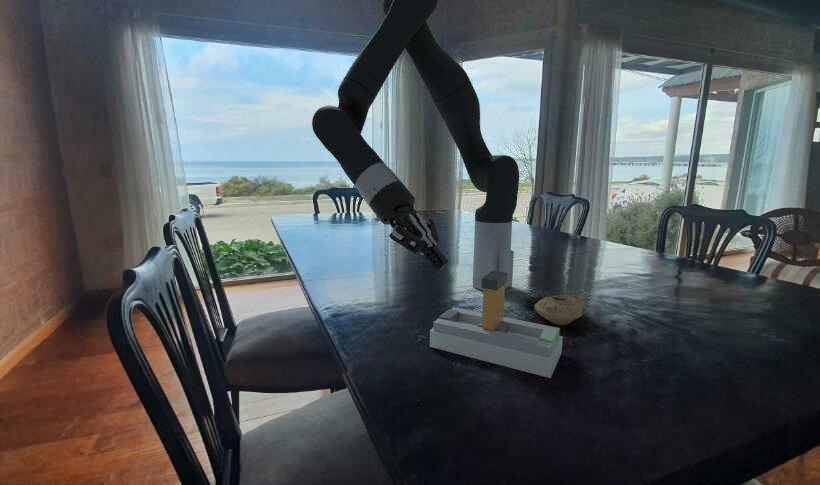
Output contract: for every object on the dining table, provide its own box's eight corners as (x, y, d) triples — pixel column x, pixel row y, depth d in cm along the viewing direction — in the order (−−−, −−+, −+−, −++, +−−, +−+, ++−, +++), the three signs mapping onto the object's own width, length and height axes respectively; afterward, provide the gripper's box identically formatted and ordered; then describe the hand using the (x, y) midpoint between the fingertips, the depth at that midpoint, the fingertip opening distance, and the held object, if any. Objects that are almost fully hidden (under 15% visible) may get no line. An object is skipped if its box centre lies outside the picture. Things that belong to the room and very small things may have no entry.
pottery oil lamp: (599, 316, 80) (606, 292, 76) (559, 346, 76) (564, 323, 71) (564, 292, 86) (569, 268, 82) (525, 318, 82) (528, 295, 77)
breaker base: (429, 346, 67) (430, 320, 66) (451, 328, 75) (452, 304, 74) (550, 378, 57) (552, 347, 56) (561, 353, 65) (563, 326, 64)
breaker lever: (475, 334, 65) (477, 277, 63) (486, 323, 69) (488, 270, 67) (498, 340, 63) (501, 281, 61) (508, 328, 67) (511, 273, 65)
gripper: (375, 180, 65) (440, 261, 61) (415, 178, 76) (472, 247, 72) (351, 209, 69) (410, 288, 65) (392, 204, 80) (445, 270, 76)
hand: (443, 266), depth 68 cm, fingers closed
